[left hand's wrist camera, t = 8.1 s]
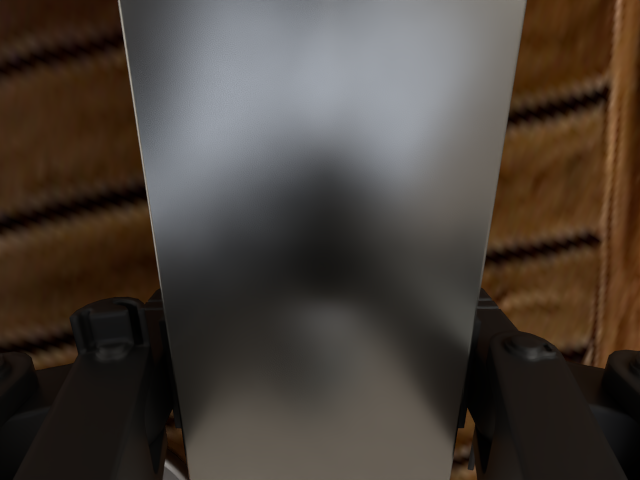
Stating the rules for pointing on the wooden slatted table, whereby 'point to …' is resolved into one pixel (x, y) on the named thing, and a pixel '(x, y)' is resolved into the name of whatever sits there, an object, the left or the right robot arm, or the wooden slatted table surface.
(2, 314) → the wooden slatted table surface
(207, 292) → the bar
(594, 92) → the wooden slatted table surface
